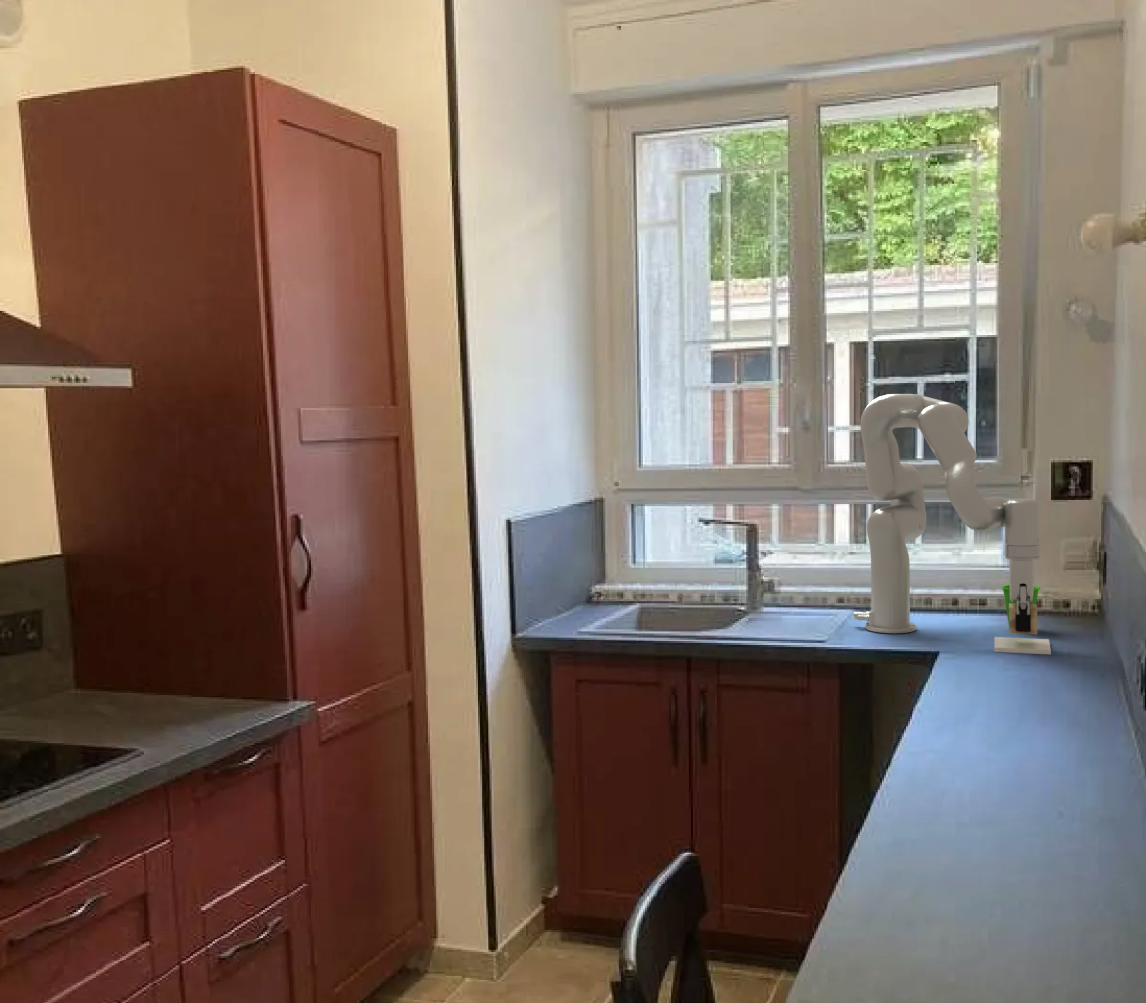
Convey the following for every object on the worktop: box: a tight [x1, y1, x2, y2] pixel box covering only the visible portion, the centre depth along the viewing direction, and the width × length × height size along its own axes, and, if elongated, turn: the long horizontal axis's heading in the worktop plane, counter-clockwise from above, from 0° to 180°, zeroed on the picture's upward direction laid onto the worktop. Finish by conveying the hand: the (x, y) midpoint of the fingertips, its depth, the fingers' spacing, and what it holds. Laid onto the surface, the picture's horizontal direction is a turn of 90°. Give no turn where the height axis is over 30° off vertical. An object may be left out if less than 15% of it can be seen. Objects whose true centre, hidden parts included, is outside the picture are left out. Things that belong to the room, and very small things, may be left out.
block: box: [1008, 603, 1038, 635], centre depth 258 cm, size 6×6×6 cm
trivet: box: [993, 636, 1052, 655], centre depth 259 cm, size 12×12×1 cm
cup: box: [1001, 583, 1041, 624], centre depth 278 cm, size 9×9×11 cm
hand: (1022, 627), depth 258 cm, fingers closed on block, 6 cm apart
